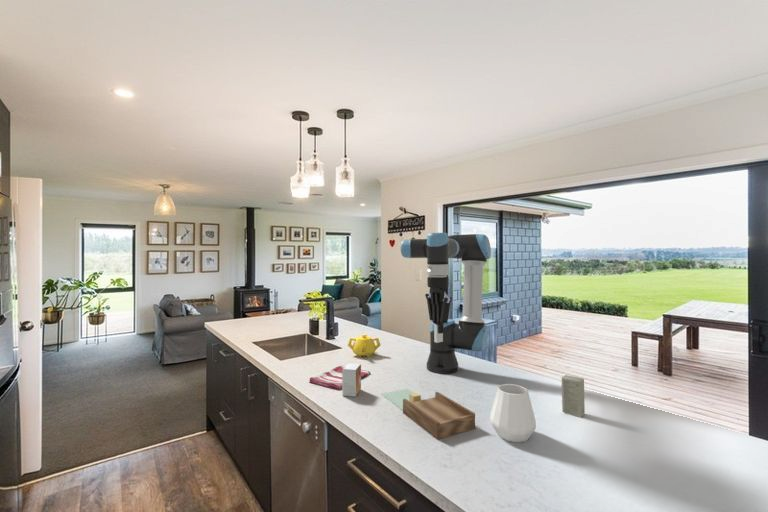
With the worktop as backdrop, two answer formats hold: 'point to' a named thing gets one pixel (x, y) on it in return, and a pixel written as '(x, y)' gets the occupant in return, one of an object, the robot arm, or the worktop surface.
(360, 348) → the yellow sugar bowl
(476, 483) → the worktop surface
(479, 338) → the robot arm
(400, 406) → the cover plate
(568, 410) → the skincare box
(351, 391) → the small box
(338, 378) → the dish towel
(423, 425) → the wooden tray
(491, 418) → the white ceramic vase
